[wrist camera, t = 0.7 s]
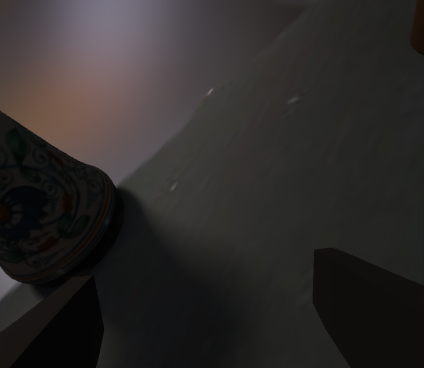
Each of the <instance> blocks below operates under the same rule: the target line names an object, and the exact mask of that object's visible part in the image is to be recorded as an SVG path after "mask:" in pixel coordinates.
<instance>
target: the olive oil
mask: <svg viewBox="0 0 424 368" xmlns="http://www.w3.org/2000/svg"><path fill="white" fill-rule="evenodd" d="M410 42H411V45H412V47H413V48H414V49H415V50H416V51H418V52H420V53H422V54H424V0H417V3H416V9H415V14H414V20H413V25H412V31H411V37H410Z"/></svg>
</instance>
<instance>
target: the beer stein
mask: <svg viewBox="0 0 424 368" xmlns="http://www.w3.org/2000/svg"><path fill="white" fill-rule="evenodd" d="M123 209H124V202H123V200H122V198H121V197H120V195H119V193H118V191H117V189H116V187H115V186H114V184H113V182H112V180H111V179H110V178H109V176H108V175H107V174H106V173H105V172H103V171H102V170H100V169H99V168H97V167H94V166H91V165H88V164H85V163H83V162H80V161H78V160H76V159H74V158H73V157H71V156H69V155H67V154H66V153H64V152H62V151H60V150H59V149H57V148H56V147H54V146H52V145H51V144H49V143H48V142H46V141H45V140H43V139H42V138H41V137H39V136H37V135H36V134H34V133H33V132H31V131H29V130H28V129H27V128H25V127H24V126H22V125H21V124H19V123H18V122H16V121H15V120H13V119H12V118H10V117H9V116H7V115H6V114H4V113H3V112H1V111H0V267H1V268H2V269H3V271H4V272H5V273H6V274H7V275H8V276H9V277H11V278H12V279H14V280H16V281H18V282H21V283H26V284H31V285H44V286H50V287H53V286H57V285H60V284H64V283H66V282H67V281H69V280H70V279H72V278H73V277H79V276H82V275H83V274H85V273H86V272H88V271H89V270H91V269H92V268H93V267H94V266H95V265H96V264H97V263H98V262H99V261H100V260H101V259H102V258H103V256H104V255H105V254H106V252H107V251H108V250H109V248H110V247H111V246H112V244H113V243H114V241H115V240H116V238H117V235H118V233H119V230H120V228H121V226H122V223H123Z"/></svg>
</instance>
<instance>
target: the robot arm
mask: <svg viewBox="0 0 424 368" xmlns="http://www.w3.org/2000/svg"><path fill="white" fill-rule="evenodd" d="M313 304H314V306H315V308H316V310H317V312H318V315H319V317H320V319H321V321H322V323H323V325H324V327H325V329H326V330H327V332H328V334H329V335H330V337H331V338H332V340H333V341H334V343H335V344H336V346H337V347H338V349H339V351H340V352H341V354H342V355H343V357H344V358H345V360H346V361H347V363H348V364H349V366H350V367H351V368H424V285H421V284H419V283H416V282H413V281H411V280H408V279H406V278H404V277H401V276H399V275H396V274H394V273H392V272H389V271H387V270H385V269H382V268H380V267H378V266H376V265H373V264H371V263H369V262H366V261H364V260H362V259H360V258H357V257H355V256H353V255H350V254H348V253H345V252H343V251H340V250H338V249H334V248H325V249H316V250H314V275H313ZM103 333H104V325H103V320H102V315H101V310H100V305H99V300H98V295H97V289H96V284H95V279H94V275H88V276H79V277H73V278H72V279H70V280H69V281H67V282H66V283H64V284H63V285H62V286H60V287H59V288H58V289H57V290H55V291H54V292H53V293H51V294H50V295H49V296H48V297H46V298H45V299H44V300H43V301H41V302H40V303H39V304H37V305H36V306H35V307H34V308H32V309H31V310H30V311H28V312H27V313H26V314H25V315H23V316H22V317H21V318H19V319H18V320H17V321H16V322H14V323H13V324H11V325H10V326H9V327H7V328H6V329H5V330H3V331H2V332H0V368H96V365H97V362H98V357H99V353H100V348H101V343H102V338H103Z"/></svg>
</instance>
